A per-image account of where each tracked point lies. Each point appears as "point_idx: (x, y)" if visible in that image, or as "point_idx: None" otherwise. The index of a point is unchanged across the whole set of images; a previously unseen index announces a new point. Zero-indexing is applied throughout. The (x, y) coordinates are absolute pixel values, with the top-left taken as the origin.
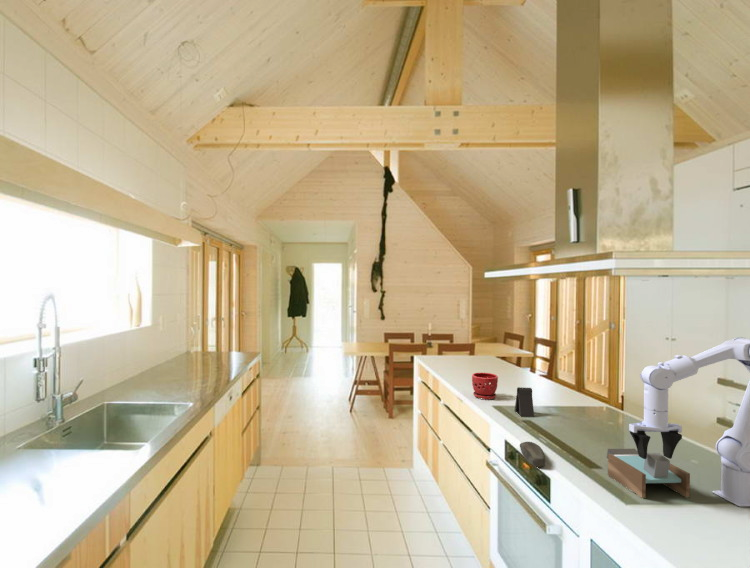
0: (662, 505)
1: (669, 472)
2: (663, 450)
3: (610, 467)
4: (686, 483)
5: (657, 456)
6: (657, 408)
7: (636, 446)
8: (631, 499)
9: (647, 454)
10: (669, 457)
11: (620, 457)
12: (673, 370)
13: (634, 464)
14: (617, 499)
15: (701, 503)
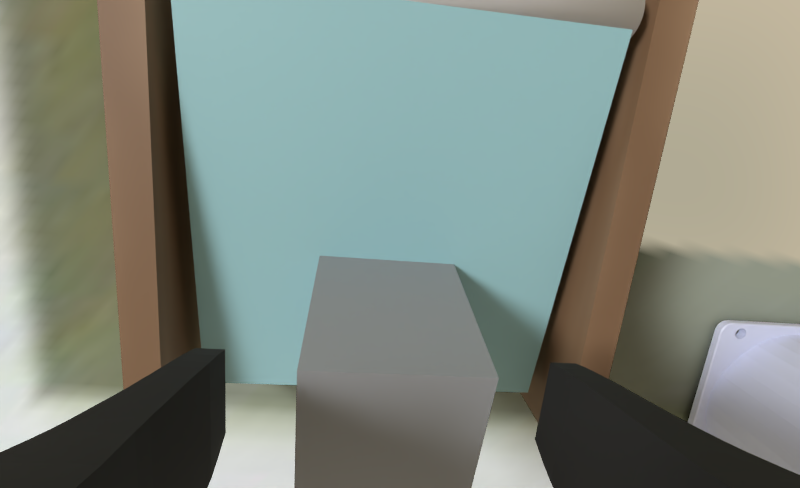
0: (271, 418)
1: (522, 317)
2: (584, 394)
3: None
4: (530, 407)
5: (394, 441)
6: None
7: (99, 407)
8: None
9: (298, 392)
10: (540, 450)
11: (212, 14)
12: None
13: (285, 176)
14: (20, 338)
15: (521, 414)
